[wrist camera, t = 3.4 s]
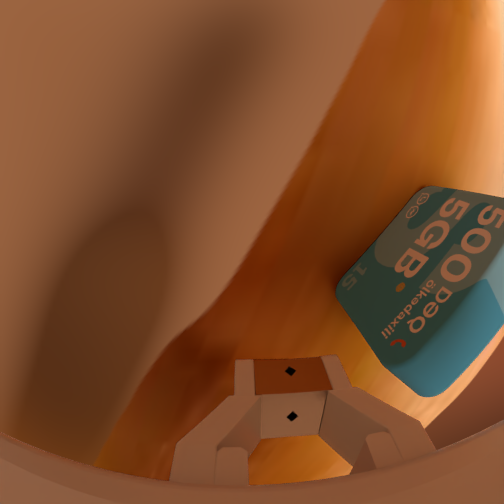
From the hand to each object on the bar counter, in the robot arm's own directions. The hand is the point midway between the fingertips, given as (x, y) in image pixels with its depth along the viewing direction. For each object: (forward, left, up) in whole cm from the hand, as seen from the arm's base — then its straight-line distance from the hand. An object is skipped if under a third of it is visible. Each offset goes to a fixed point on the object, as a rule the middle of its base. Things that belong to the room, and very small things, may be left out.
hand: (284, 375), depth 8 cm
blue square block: (0, -11, -15) cm, 19 cm away
